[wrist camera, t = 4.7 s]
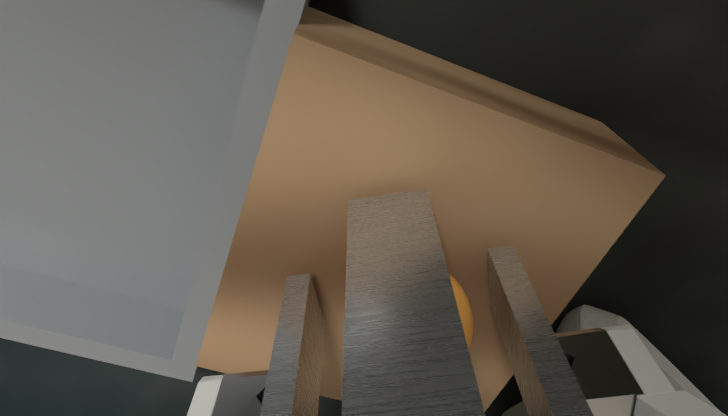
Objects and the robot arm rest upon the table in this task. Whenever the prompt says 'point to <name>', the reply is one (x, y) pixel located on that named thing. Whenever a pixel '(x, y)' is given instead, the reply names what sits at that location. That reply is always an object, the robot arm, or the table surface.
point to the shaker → (412, 327)
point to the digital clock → (599, 318)
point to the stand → (415, 172)
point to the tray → (128, 167)
